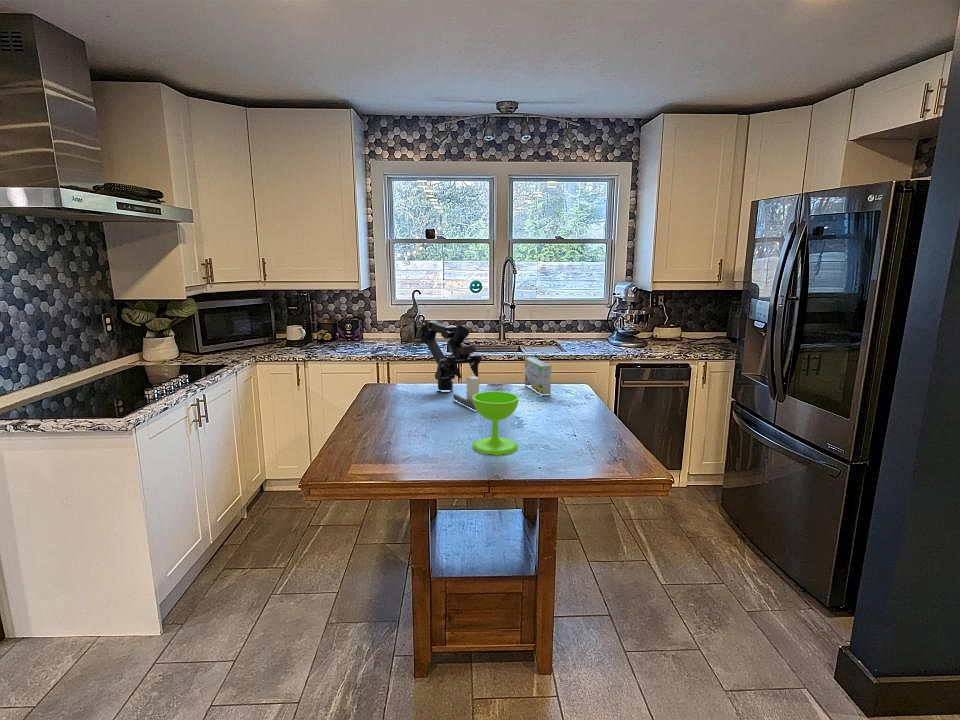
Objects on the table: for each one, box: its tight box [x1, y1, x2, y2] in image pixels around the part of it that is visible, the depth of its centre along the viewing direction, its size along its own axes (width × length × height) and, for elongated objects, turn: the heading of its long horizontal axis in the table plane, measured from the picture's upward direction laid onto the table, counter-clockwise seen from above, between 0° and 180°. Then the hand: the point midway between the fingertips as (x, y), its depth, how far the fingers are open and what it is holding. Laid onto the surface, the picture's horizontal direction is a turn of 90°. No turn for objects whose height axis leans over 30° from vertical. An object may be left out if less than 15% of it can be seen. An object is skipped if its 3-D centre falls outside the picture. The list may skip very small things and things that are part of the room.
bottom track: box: [453, 393, 476, 410], centre depth 235 cm, size 20×9×3 cm, turn 30°
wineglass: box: [471, 390, 520, 456], centre depth 181 cm, size 16×16×18 cm
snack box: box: [524, 356, 552, 395], centre depth 259 cm, size 21×6×15 cm, turn 17°
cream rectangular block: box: [466, 375, 480, 402], centre depth 234 cm, size 5×4×12 cm
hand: (469, 377), depth 237 cm, fingers open, 9 cm apart
